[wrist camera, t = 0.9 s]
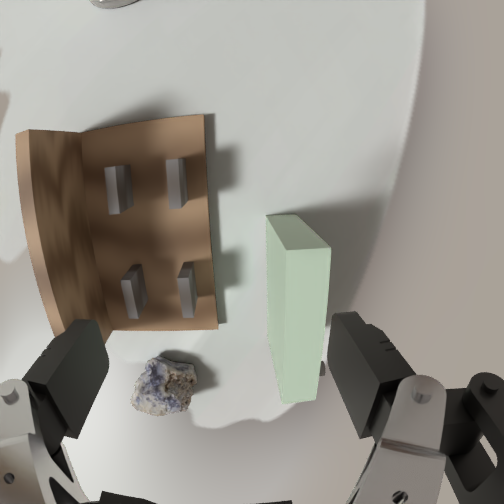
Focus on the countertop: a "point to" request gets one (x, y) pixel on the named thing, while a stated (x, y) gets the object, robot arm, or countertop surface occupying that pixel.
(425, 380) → the robot arm
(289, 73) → the countertop surface
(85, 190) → the hinge base
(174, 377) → the mineral specimen
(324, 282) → the cabinet door
